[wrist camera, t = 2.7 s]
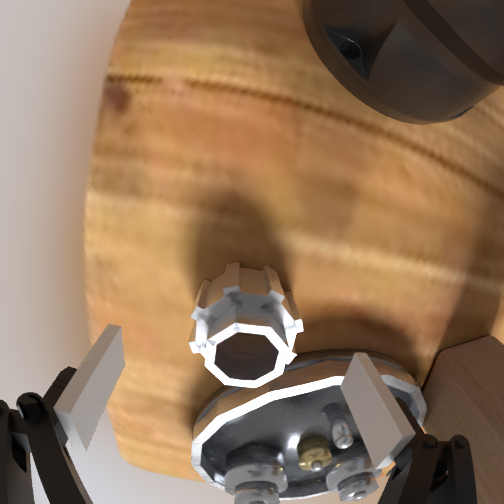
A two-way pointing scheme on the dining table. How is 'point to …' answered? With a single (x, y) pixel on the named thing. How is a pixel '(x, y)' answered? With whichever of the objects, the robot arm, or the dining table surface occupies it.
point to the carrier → (294, 432)
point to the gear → (245, 325)
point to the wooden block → (471, 408)
